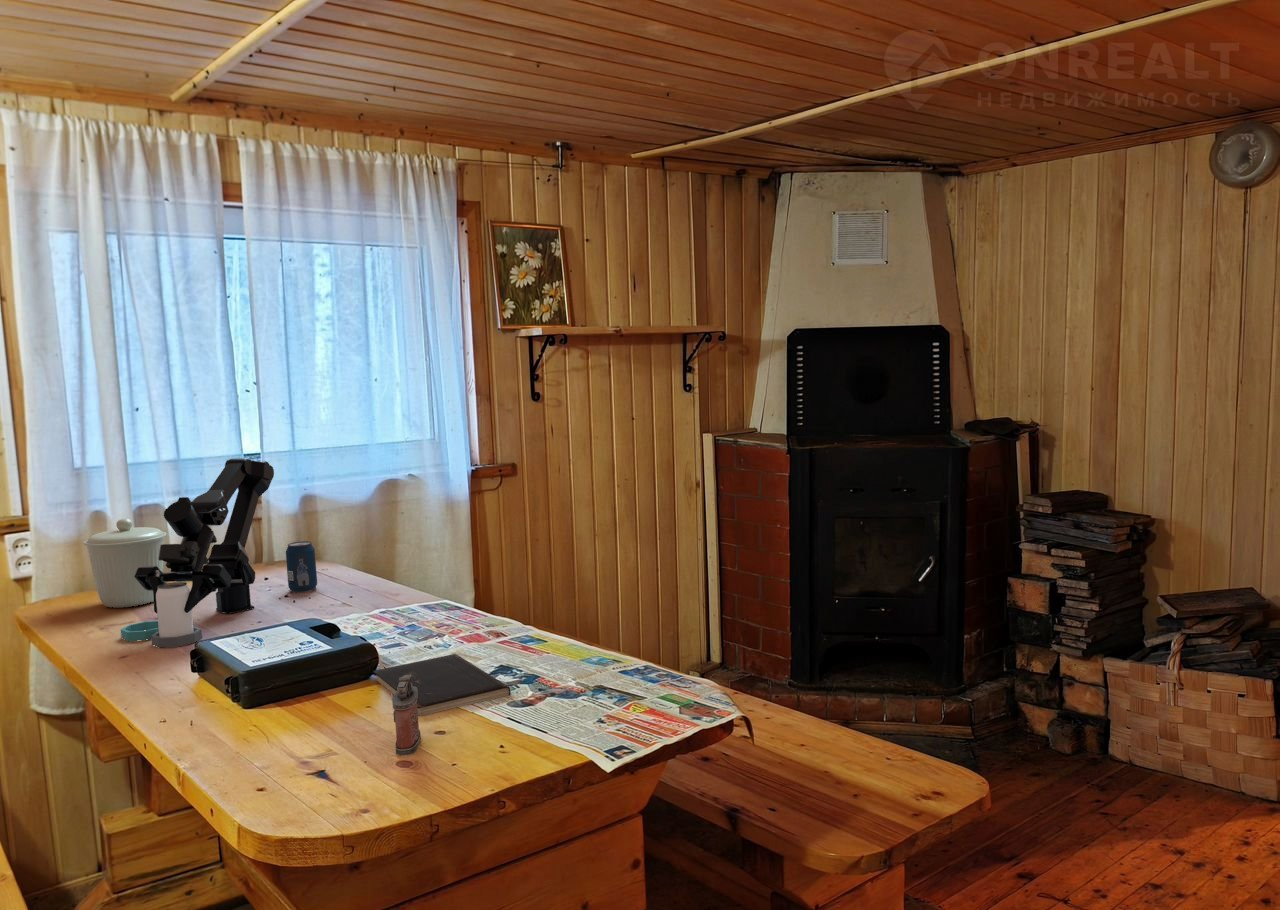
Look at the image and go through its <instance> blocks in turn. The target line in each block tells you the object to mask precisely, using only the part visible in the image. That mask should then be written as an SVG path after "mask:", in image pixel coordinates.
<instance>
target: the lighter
mask: <svg viewBox="0 0 1280 910" xmlns="http://www.w3.org/2000/svg"><path fill="white" fill-rule="evenodd" d="M417 698H418V690H417V687H415V686H412V683H411V675H404V676H403V677H399V685H398V687H397V692H396V693H395V694H393V697H392V709H393V722H394V724H395V738H396V741H395V744H394V745H395V754H396V756H401V757H402V756H404V757H405V756H410V755H412V754H414V753H415V752H416V751H417V750H418V749H419V747H420V745H421V742H422V738H421V737H422V736H421V734H422V733H421V730H420V729H419V726H420V725H419V715H418V710H417Z"/></svg>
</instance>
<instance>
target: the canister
mask: <svg viewBox="0 0 1280 910" xmlns="http://www.w3.org/2000/svg"><path fill="white" fill-rule="evenodd" d="M115 525H116V528H115V529H111V530H105V531H102V532H98V533H95V534H92V535H91V536H90V537H89V538H88V539H86V540H84V541H83V544H84V546H86V547H87V553H88V558H89V562H90V565H91V570H92V574H93V579H94V583H95V587H96V590H97V595H98V597H99V600H100V602H101V603H102V605H104V606H105V607H109V608H112V607H113V609H115V608H118V609H121V608H122V609H123V608H124V607H125V608H132V606H134V607H138V605H140V606H143V604H144V605H148V604H150V602H151V603H154V595H153V590H151V591H149V590H146V589H144V587H143V586H142V585H141V584H140V583H139V582H138V581H137V579H136V578H135V577H134V575H135V573H136V570H137V569H138V568H139V567H142V566H157V567H158V568H159V569H160V571H162V572H164V561H162V560H161V561H160V560H158V559H159V552H160V546H161V545H162V544H165V538H166V536H167V532H166V531H162V530H161V529H159V528H156V527H151V526H150V527H144V526H143V527H142V526H141V527H133V521H132V520H131V519H130V518H120V519H119V520H117V522H116V524H115ZM147 603H148V604H147Z"/></svg>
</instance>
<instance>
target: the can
mask: <svg viewBox="0 0 1280 910" xmlns="http://www.w3.org/2000/svg"><path fill="white" fill-rule="evenodd" d="M157 588H158V590H157V593H156V604H157V621H158V626H159V636H160V637H161V638H162V637H178V636H182V635H186V634H191V633H193V632H194V631H193V626H194V622H193V621H194V620H193V612H192V610H193V609H192V610H190V611H189V612H188V613H186V612H185V611H184V609H185V605H186V602H187V599H188V596H189V593H190V591H191V589H190V588H189V587H188V583H187V582H176V581H172V582H167V584H162V585H159V586H158V587H157Z"/></svg>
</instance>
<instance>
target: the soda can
mask: <svg viewBox="0 0 1280 910" xmlns="http://www.w3.org/2000/svg"><path fill="white" fill-rule="evenodd" d="M315 550H316V549H315V547H314V545H313V543H312V541H308V540H306V541H305V540H304V541H294V542H290V543H287V547H286V550H285V559H286V561H285V562H286V570H287V571H286V572H287V573H286V574H287V586H288V587H287V588H289V590H290V592H292V593H294V594H298V593H299V594H300V593H301V594H302V593H309V592H312V591H315V589H316V587H317V586H318V577H317V562H316V552H315Z"/></svg>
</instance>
